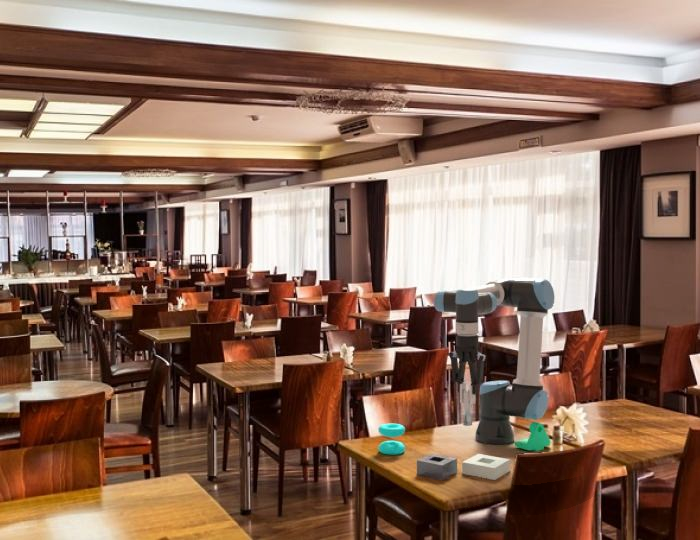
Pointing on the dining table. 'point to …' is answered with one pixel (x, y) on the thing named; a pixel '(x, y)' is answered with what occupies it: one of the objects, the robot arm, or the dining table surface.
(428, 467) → the mount block
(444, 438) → the dining table surface
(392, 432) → the donuts
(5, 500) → the dining table surface
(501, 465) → the socket plate
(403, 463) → the dining table surface
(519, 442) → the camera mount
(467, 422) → the steel pin
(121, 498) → the dining table surface
